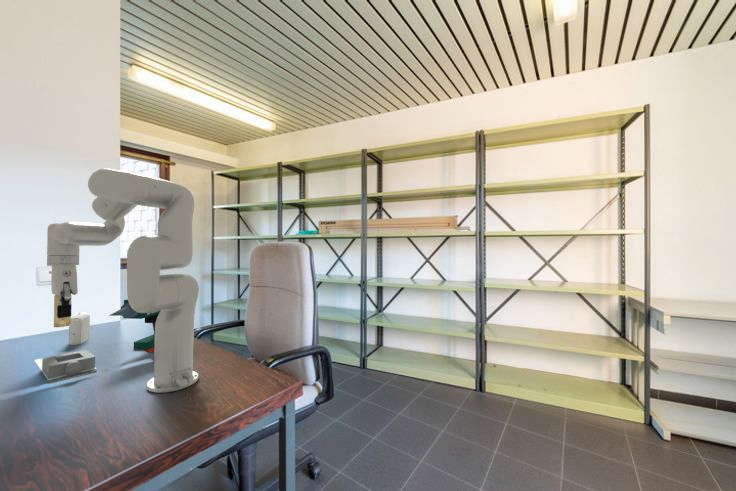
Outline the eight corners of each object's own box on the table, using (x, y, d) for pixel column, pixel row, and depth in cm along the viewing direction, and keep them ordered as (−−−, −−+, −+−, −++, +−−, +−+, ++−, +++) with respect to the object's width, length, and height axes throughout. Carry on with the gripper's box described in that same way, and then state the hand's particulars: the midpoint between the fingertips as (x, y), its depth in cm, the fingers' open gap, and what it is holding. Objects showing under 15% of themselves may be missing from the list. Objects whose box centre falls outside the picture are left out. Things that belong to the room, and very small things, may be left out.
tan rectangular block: (72, 325, 100) (72, 295, 100) (55, 328, 96) (55, 296, 97) (69, 323, 102) (69, 294, 102) (52, 326, 99) (53, 295, 99)
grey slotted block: (97, 373, 92) (97, 357, 92) (48, 385, 84) (49, 368, 84) (77, 354, 107) (77, 341, 107) (33, 363, 99) (34, 349, 99)
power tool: (118, 368, 97) (120, 305, 97) (96, 367, 97) (98, 305, 97) (181, 338, 129) (183, 291, 129) (165, 337, 129) (166, 291, 129)
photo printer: (81, 347, 115) (82, 314, 115) (66, 348, 113) (67, 315, 113) (91, 339, 124) (91, 309, 124) (77, 341, 122) (78, 310, 122)
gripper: (85, 261, 98) (84, 317, 97) (73, 260, 107) (72, 311, 107) (52, 261, 92) (51, 322, 91) (42, 260, 101) (41, 315, 101)
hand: (62, 315), depth 99 cm, fingers closed on tan rectangular block, 4 cm apart
